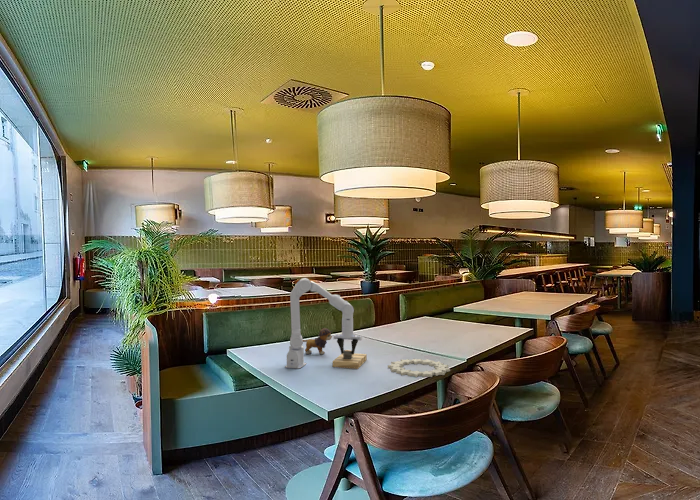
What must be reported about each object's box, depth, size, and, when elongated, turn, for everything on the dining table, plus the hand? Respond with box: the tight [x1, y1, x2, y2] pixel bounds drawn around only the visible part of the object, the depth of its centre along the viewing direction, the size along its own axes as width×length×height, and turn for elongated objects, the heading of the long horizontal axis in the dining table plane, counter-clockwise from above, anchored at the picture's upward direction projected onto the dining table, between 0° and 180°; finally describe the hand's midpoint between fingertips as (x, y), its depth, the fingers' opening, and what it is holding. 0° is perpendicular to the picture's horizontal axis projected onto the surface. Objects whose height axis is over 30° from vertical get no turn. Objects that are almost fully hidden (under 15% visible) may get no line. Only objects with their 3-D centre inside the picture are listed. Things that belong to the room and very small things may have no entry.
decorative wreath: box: [387, 358, 451, 378], centre depth 217 cm, size 30×2×30 cm
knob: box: [343, 349, 352, 359], centre depth 227 cm, size 5×5×7 cm
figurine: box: [303, 327, 334, 355], centre depth 249 cm, size 7×22×15 cm, turn 78°
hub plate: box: [332, 352, 368, 370], centre depth 228 cm, size 18×13×3 cm
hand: (347, 353), depth 227 cm, fingers open, 5 cm apart
